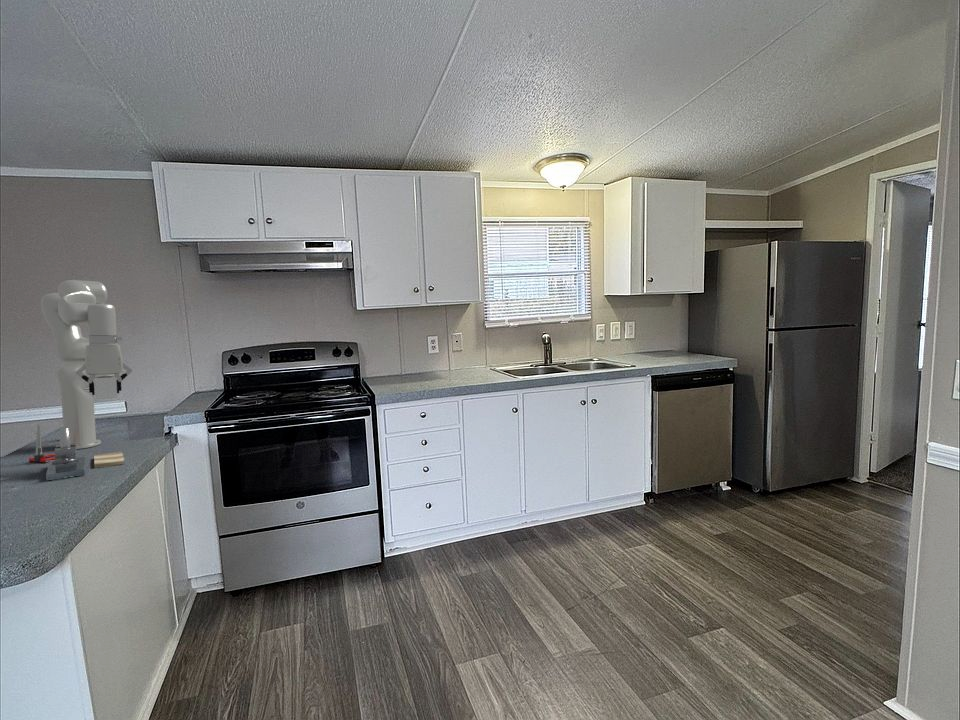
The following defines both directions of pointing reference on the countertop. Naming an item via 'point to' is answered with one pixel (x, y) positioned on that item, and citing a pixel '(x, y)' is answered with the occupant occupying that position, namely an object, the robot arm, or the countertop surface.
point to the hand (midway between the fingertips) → (105, 393)
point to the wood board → (108, 459)
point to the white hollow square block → (105, 387)
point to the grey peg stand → (65, 459)
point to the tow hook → (40, 450)
